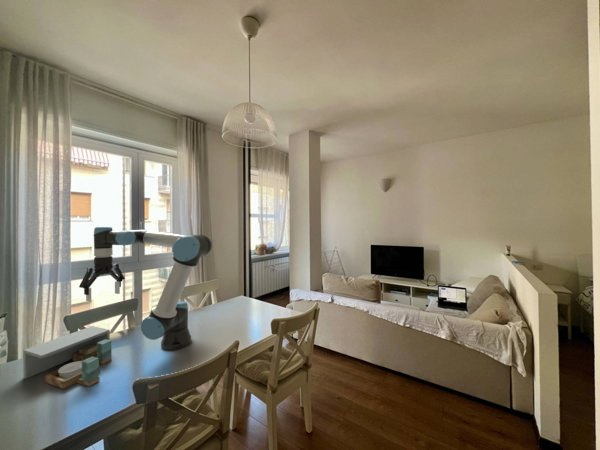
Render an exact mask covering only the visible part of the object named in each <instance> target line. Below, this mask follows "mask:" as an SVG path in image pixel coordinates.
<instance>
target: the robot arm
mask: <svg viewBox="0 0 600 450" xmlns="http://www.w3.org/2000/svg"><path fill="white" fill-rule="evenodd" d="M133 244H134V245H135V244H143V245H151V246H158V247H164V248H170V249H171V248H172V249H171V250H172V251H171V252H172V255H173V257H172V260H173V262H174V263H173V265H172V268H171V271H170V273H169V275H168V279H167V280H166V281H165V282H166V283H165V285H164V288H163V290H162V292H161V295H160V297H159V299H158V303H157V304H155V305H154V306H152V308H151V310H150V312H149V315H148V316H147V317H144V319H143V320H142V321H141V323H140V330H141V332H142V335H143V336H144V337H145V338H147V339H149V340H151V341H152V340H153V341H154V340H156V341H157V340H158V339H160V338H162V340H161V341H160V348H161V349H162V350H165V351H174V350H179V349H183V348H185V347H187V346H188V345H190V344H191V342H192V335H191V333H190V330H189V323H188V322H189V306H188V303H187V301H182V300H181V301H180V299H181V296H182V293H183V292H184V289H185V286H186V284H187V283H188V280H189V277H190V275H191V273H192V270H193V268H196V267H197V266H198V264H199V262H200V259H201V258H202V257H205V256H207V255H209V253H210V252H211V250H212V248H213V242H212V240H211V238H210V237H208V236H207V235H205V234H190V235H184V234H176V233H169V232H159V231H153V230H147V229H130V230H123V229H122V230H113V227H112V226H95V227H94V229H93V256H94V258H93V264H94V267H87V268H86V271H85V275H84V276H83V278H82V279H81V282H80V284H79V286H78V287H79V288H81V289H83V294H84V295H85V301H86V302H92V288H91V286H92V285H93V283H94V282H95V281H96V280H97V278H98V277H100V276H102V275H103V276H104V275H107V274H108V275H110V276H111V277H112V279H114V280H115V281H114V294H116V295H119V294H120V293H121V291H120V290H121V287H122V282H123V280H125V279H126V278H125V275H124V274H123V272H122V271H121V268H120V266H119V263H113V253H114V252H113V246H122V247H123V246H131V245H133ZM114 271H115V272H114Z"/></svg>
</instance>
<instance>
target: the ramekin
mask: <svg viewBox="0 0 600 450" xmlns="http://www.w3.org/2000/svg"><path fill="white" fill-rule="evenodd" d="M58 369H59V370H58ZM58 369H57V370H58V373H59V378H62V379H64V380H66V379H68V378H70V377H72V376H74V375H77V374H79V373H81V372H82V361H73V362H69V363H67V364H64V365H63V366H61V367H59V368H58Z"/></svg>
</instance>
